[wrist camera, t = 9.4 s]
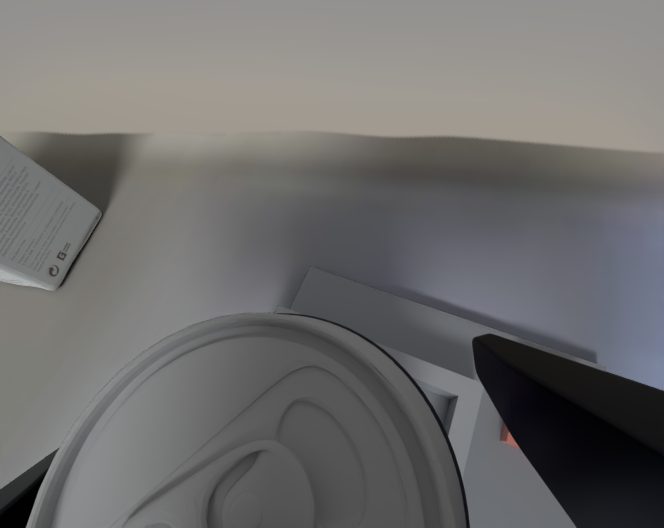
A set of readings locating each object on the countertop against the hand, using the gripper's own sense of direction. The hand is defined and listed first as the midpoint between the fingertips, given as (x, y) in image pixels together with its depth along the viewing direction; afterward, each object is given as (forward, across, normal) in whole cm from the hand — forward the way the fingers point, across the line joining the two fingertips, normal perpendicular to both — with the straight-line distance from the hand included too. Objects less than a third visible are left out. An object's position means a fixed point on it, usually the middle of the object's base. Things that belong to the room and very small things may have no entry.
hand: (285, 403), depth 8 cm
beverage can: (+5, 0, +7) cm, 8 cm away
